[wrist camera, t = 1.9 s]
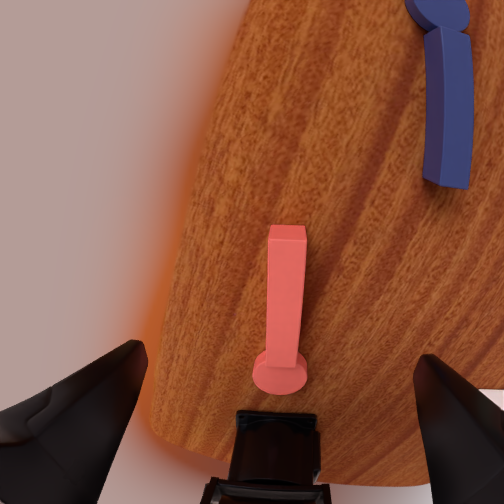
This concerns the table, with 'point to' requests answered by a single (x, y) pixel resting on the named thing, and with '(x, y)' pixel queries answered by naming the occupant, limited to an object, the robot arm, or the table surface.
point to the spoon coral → (283, 313)
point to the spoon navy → (447, 90)
